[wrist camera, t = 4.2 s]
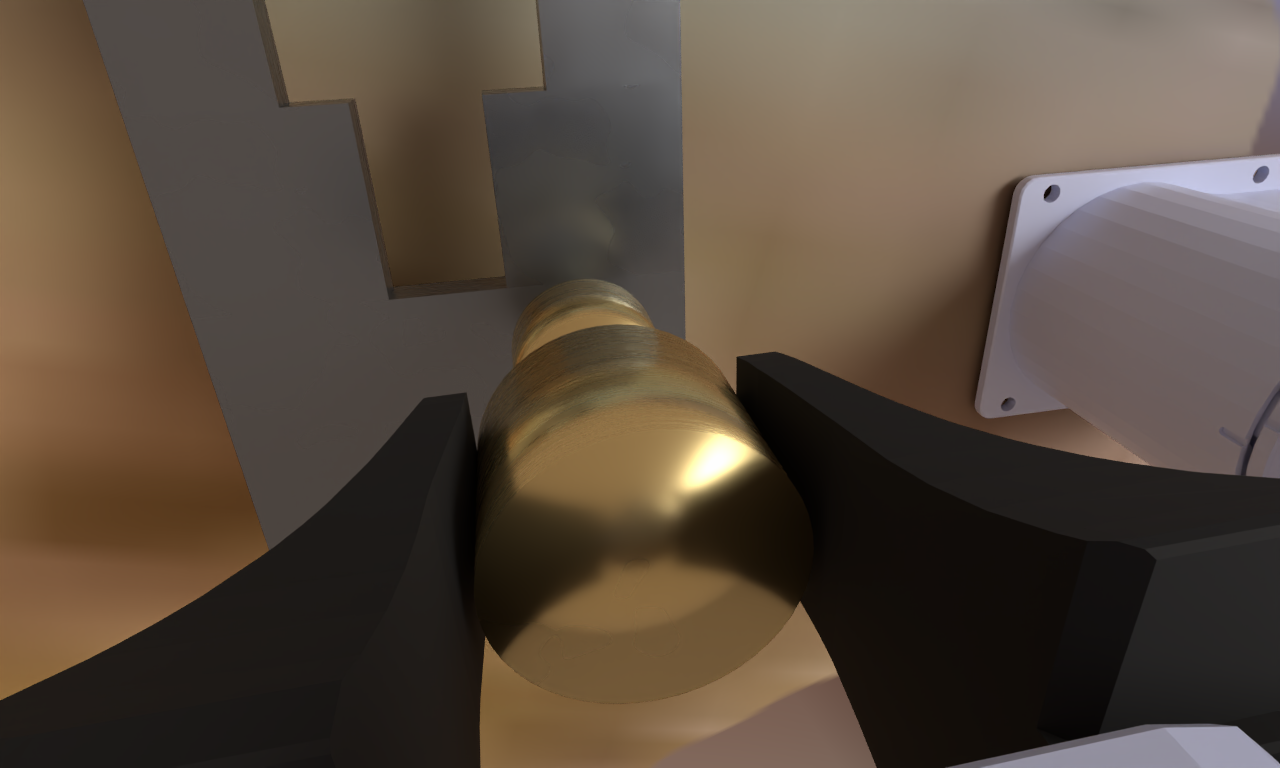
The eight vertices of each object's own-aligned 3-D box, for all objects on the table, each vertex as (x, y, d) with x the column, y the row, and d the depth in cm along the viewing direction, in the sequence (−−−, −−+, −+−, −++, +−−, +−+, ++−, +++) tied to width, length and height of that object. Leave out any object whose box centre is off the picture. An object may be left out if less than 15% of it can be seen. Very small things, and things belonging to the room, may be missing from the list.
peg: (690, 246, 14) (838, 422, 8) (677, 430, 16) (789, 685, 10) (473, 248, 13) (462, 442, 8) (484, 440, 15) (482, 720, 9)
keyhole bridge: (615, -461, 15) (669, -659, 10) (651, 427, 24) (688, 523, 19) (54, -481, 13) (-162, -722, 9) (321, 469, 22) (280, 583, 18)
